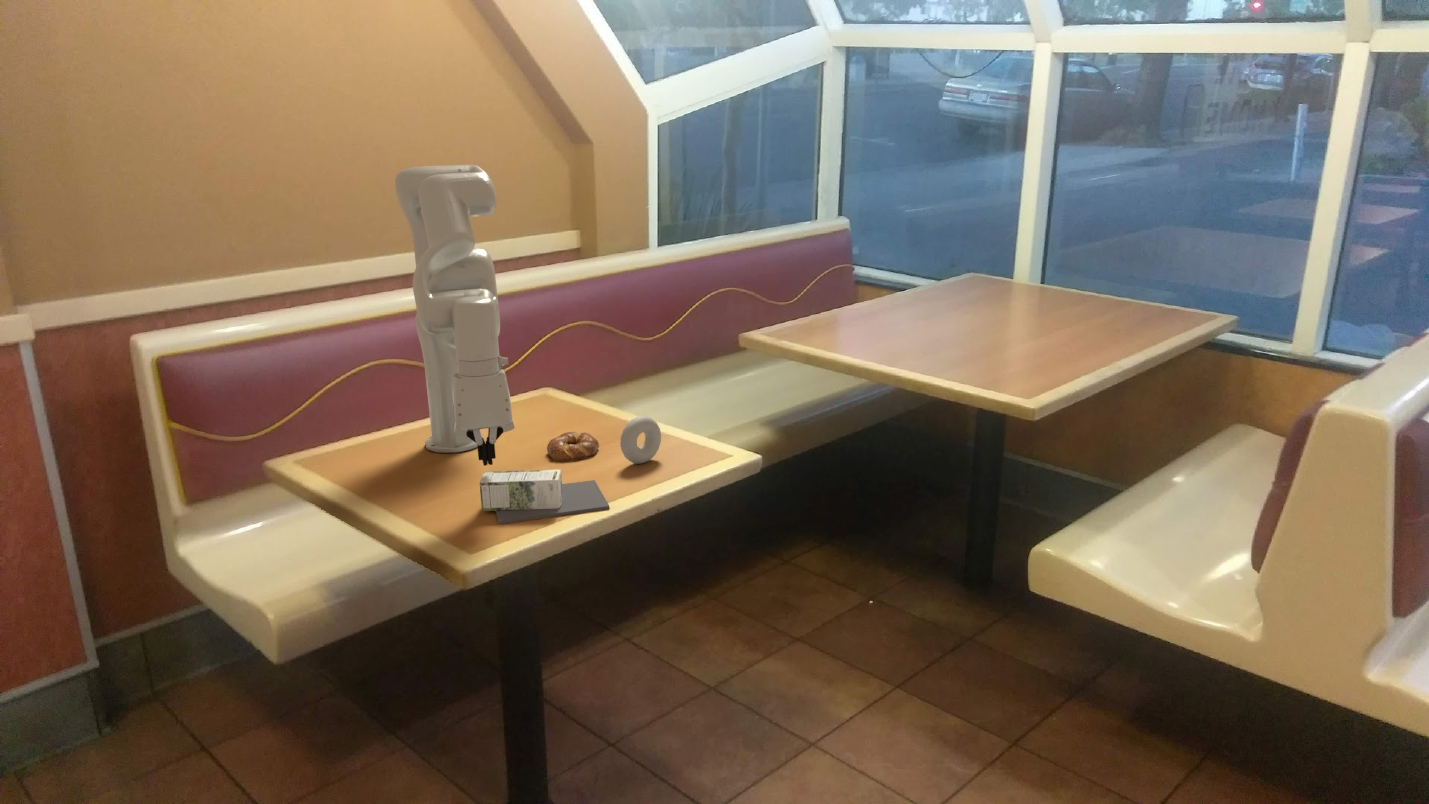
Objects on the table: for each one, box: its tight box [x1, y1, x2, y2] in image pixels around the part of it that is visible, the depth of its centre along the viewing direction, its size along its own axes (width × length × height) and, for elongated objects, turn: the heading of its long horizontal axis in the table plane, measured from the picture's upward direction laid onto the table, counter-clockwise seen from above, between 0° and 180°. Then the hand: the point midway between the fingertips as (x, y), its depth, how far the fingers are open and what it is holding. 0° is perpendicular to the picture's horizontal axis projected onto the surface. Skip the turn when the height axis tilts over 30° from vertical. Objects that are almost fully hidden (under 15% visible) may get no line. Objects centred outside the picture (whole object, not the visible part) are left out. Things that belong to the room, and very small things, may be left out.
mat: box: [495, 479, 610, 525], centre depth 189 cm, size 14×20×1 cm
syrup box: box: [479, 469, 563, 512], centre depth 186 cm, size 6×6×14 cm
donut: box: [619, 415, 662, 465], centre depth 208 cm, size 10×4×10 cm, turn 134°
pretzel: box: [546, 431, 600, 462], centre depth 215 cm, size 12×11×4 cm
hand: (487, 462), depth 185 cm, fingers closed
